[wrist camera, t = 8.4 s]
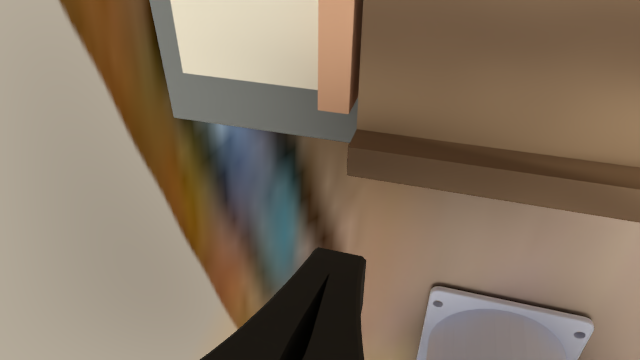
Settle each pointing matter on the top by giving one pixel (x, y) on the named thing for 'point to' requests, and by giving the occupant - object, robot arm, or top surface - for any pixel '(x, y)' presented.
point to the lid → (275, 44)
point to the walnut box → (503, 101)
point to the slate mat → (243, 96)
